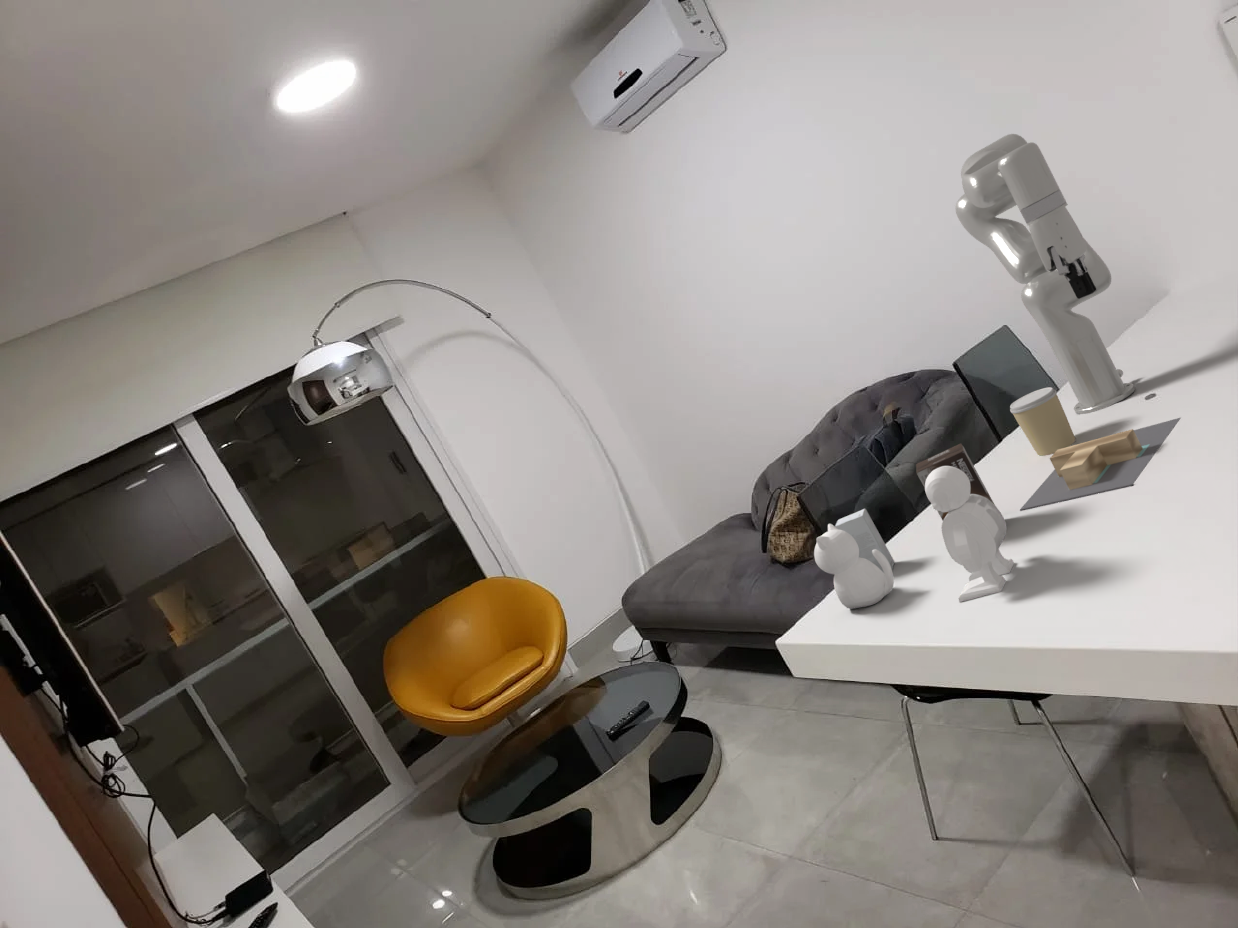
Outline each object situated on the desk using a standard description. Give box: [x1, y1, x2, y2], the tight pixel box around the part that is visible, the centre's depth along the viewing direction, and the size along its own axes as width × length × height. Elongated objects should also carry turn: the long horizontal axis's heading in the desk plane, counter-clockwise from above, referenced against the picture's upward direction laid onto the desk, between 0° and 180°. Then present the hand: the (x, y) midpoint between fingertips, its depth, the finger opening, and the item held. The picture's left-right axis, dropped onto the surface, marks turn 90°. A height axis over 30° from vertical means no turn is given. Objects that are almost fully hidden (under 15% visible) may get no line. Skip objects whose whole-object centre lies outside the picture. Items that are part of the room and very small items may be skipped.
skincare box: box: [834, 508, 895, 573], centre depth 169 cm, size 6×4×12 cm
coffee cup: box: [1009, 386, 1077, 457], centre depth 183 cm, size 9×9×12 cm
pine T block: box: [1049, 428, 1143, 490], centre depth 159 cm, size 12×14×4 cm
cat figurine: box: [813, 523, 895, 610], centre depth 157 cm, size 9×12×15 cm
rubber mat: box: [1019, 417, 1181, 512], centre depth 161 cm, size 28×20×1 cm
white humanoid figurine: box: [924, 466, 1015, 603], centre depth 138 cm, size 14×9×20 cm, turn 142°
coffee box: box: [915, 442, 996, 522], centre depth 160 cm, size 9×6×16 cm
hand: (1087, 294), depth 169 cm, fingers closed
